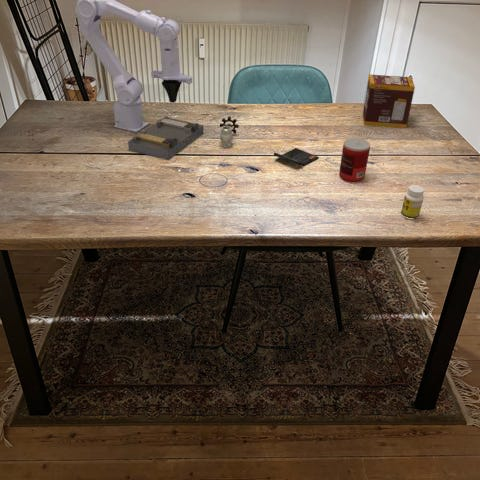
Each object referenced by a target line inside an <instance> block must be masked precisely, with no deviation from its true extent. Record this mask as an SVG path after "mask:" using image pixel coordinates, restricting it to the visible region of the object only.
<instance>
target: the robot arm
mask: <svg viewBox="0 0 480 480" xmlns="http://www.w3.org/2000/svg"><path fill="white" fill-rule="evenodd" d="M74 12H75V14H76V15H77V19H78V25H79V28H80V29H79V30H80V32H81V33H82V35H83V37H84V38H85V39H86V41H87V43H88V45H89V46H90V48H92V50H93V52H94V53H95V55H96V56H97V58H98V59H99V61H100V62H101V64H102V65H103V67H104V69H105V71H107V73H108V74H109V76H110V77H111V79H112V82H113V89H114V91H115V94H116V98H117V100H116V101H115V103H114V105H113V114H114V115H113V116H114V123H115V124H114V125H113V126H114V128H116V129H121V130H124V131H125V130H126V131H130V132H134V133H138V132H139V131H142V129H144V128H145V127H147V126H149V125H150V123H149V122H146V121H144V113H143V111H144V110H143V102H142V97H141V95H142V94H143V92H144V87H143V84H142V82H141V81H140V80H138V79H137V78H136V77H135V75H134V74H133V73H131V72H129V71H127V69H126V68H125V67H124V65H123V63H122V61H121V60H120V59H119V57H118V56H117V54H116V53H115V51H114V49H113V48H112V46H111V45H110V43H109V41H108V40H107V39H106V37H105V36H104V33H103V32H102V31H101V30H100V23H101V18H102V16H105V15H113V16H116V17H118V18H121V19H124V20H126V21H129V22H132V23H134V24H135V26H136V28H137V29H138V30H141V31H143V32H145V33H148V34H150V35H152V36H154V37H157V39H158V40H159V41H160V56H161V67H162V68H161V69H162V70H153V71H151V73H150V74H151V78H152V79H155V78H156V79H160V80H161V79H162V80H163V81H161V85H162V86H163V88H164V89H165V92H166V94H167V96H168V100H169V103H175V102H177V99H178V94H179V90H180V87H181V85H182V83H184V84H185V83H186V84H187V85H191V84H192V83H193V77H192V76H190V75H186V74H184V73H182V72H181V67H180V66H181V65H180V64H181V63H180V62H181V61H180V46H179V37H178V36H179V35H180V30H181V29H180V25H179V24H178V22H177V21H175V20H174V19H172V18H168V19H166V17H163V16H162V17H160V16H157V15H156V14H153V13H152V11H151V10H150V9H147V10H145V9H144V10H141V11H137V10H135V9H132V8H130V6H127V5H125V4H122V3H121V2H118V1H117V0H78V1H77V2H76V7H75V10H74Z"/></svg>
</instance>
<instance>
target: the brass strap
mask: <svg viewBox="0 0 480 480" xmlns="http://www.w3.org/2000/svg"><path fill="white" fill-rule="evenodd" d="M139 134H140V135H139ZM139 134H137V135H138V139H140V140H144V141H148V142H152V143H156V144H160V145H165V146H170V141H172V139H168V138H167V139H165V138H160V137H156V136H152V135H148V134H144V133H142V134H141V133H139Z"/></svg>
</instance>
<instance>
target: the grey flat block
mask: <svg viewBox="0 0 480 480" xmlns="http://www.w3.org/2000/svg"><path fill="white" fill-rule="evenodd" d="M163 119H169V120H174V121H178V122H183V123H187V124H188V123H191V124H194V125H192V130H191V131H190V130H186V129H181V128H177V127H173V126H168V125H164V124H161V121H162V120H163ZM163 119H161V120H157V121H156V123H154V124H153V125H151V126H150V127H148V128H146V129H145V130H140V133H139V134H137V135H133V136H132V138H131V139H130V140H128V141H127V146H128V151H131V152H135V153H139V154H143V155H147V156H150V157H155V158H159V159H163V160H168V161H169V160H171V159H172V158H174V157H175V156H176V155H177V154H179V153H180V152H182V150H184V149H185V148H186V147H187V146H189V145H190V144H192V143H193V142H194V141H196V140H197V139H198V138H199V137H201V136H203V134H204V125H203V124H199V123H198V122H195V123H194V122H190V121H185V120H180V119H177V118H172V117H169V116H167V115H164V116H163ZM142 133H144V134H148V135H152V136H156V137H160V138H165V139H167V138H168V139H172V141H170V146H165V145H160V144H156V143H152V142H148V141H144V140H140V139H138V135H140V134H142Z"/></svg>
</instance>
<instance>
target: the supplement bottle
mask: <svg viewBox="0 0 480 480" xmlns="http://www.w3.org/2000/svg"><path fill="white" fill-rule="evenodd" d="M424 193H425V189H424V187H422V186H421V185H419V184H411V185H409V186H408V189H407V192H405V195H404V197H403V198H404V199H403V203H402V207H401V211H400V214H402V215H403V216H405V217H408V218H417V217H418V216H419V217H420V213H421V209H422V205H423V202H424V199H425V198H424ZM402 215H401V216H402ZM403 216H402V217H403ZM419 217H418V218H419ZM418 218H417V219H418Z"/></svg>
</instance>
